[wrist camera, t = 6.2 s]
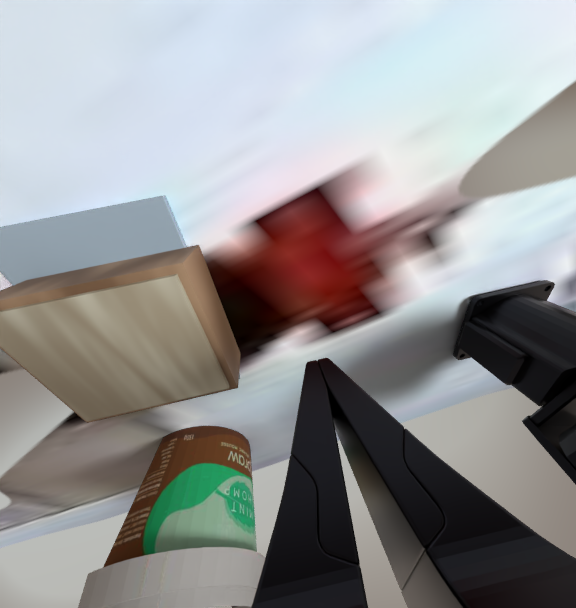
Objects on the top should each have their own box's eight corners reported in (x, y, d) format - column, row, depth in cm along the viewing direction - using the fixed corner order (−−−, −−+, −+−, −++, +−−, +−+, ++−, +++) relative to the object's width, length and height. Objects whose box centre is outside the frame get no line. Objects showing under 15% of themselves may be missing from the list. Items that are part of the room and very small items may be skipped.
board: (165, 195, 10) (162, 195, 10) (239, 374, 17) (239, 378, 17) (-25, 232, 10) (-35, 233, 10) (127, 400, 17) (124, 405, 16)
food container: (285, 448, 23) (303, 602, 15) (243, 471, 25) (237, 626, 16) (197, 398, 18) (144, 603, 9) (148, 431, 19) (59, 641, 10)
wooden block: (180, 264, 8) (-53, 312, 8) (237, 391, 13) (84, 427, 12) (198, 244, 11) (26, 280, 11) (240, 353, 15) (115, 381, 15)
